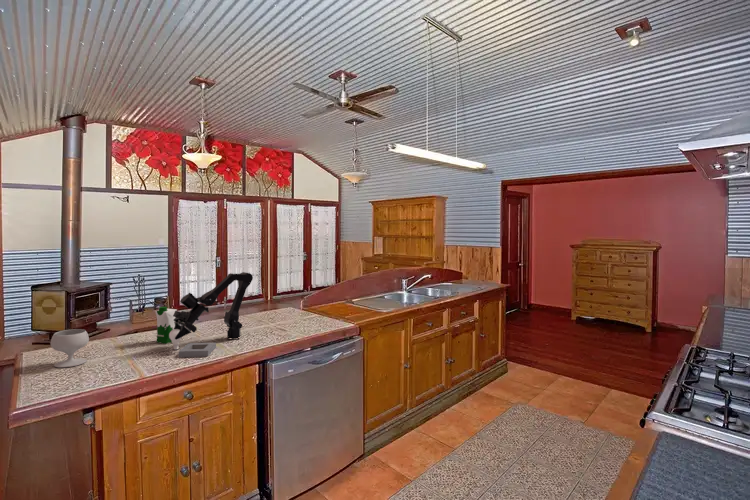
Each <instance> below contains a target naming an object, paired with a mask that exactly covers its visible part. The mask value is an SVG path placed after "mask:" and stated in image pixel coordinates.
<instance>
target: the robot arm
mask: <svg viewBox="0 0 750 500" xmlns="http://www.w3.org/2000/svg"><path fill="white" fill-rule="evenodd" d="M253 278H254V276H253V275H252V273H250V272H245V271H243V272H241V273H232V272H231V273H229V274H227V276H226V277H225V278H223V280H221V281H220V282H219V283H218V284H217V285H216V286H215V287H214V288H212V289H211V290H209V291H207V292H204V294H202V295H201V296H199V297H195V296H194V294H193V293H191V292H189V293H188V294H186V295H184V296H182V298H180V301H179V303H180V304H182V305H183V306H184V307H186V308H187V309H190V310H189V311H184V310H182V311H179V310H177V311H175V313H174V315H173V316H174V317H175V319H174V320H173V321H175V322H174V323H175V327H174V329H179V330H180V331H179V333H178V334H177V335H176V337H175V339H176V340H177V339H179V338H181V337H182V338H183V337H185V336H187V335H189V334H191V333H196V331H197V330H198V329H197V326H195V324H194V323H196V321H199V318H200V317H201V316H202V314H204V312H205V313H209V311H210V310H209V307H210V306H212V305H214V303H215V302H216V301H217V300H218V296H220V295H221V293H223V292H224V291H225V290H226V289H227V288H228V287H229V286H230V285H231V284H232V283H233V282H234V281H237V284H238V285H237V290H236V292H235V295H234V298H233V302H232V304H231V307H230V310H229V311H225V313H224V316H223V322H224V324H225V325H226V327H227V333H226V334H227V335H226V337H227V339H228V338H238V337H240V336H241V337H242V335H241V334H242V333H241V329H242V328H243V324H242V323H241V322H240V321H239V318H240V312H239V311H240V309H241V305H242V302H243V299H244V297H245V294H246V292H247V291H246V290H247V288H248V287H249V286H250V285H251V283H252V281H253ZM174 329H173V330H174ZM241 337H240V338H241ZM182 338H181V339H182Z"/></svg>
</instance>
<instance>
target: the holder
mask: <svg viewBox="0 0 750 500" xmlns="http://www.w3.org/2000/svg"><path fill="white" fill-rule="evenodd" d="M215 348H216V349H217V342H191V343H190V342H189V343H187V344H186V345H185V346H183V347H182V348H181V349H180V350H179V351H177V352H178V358H204V357H205V358H207V357H206V356H208V357H210V355H211V354H212V353H213V352H214V351H215V350H216V349H215ZM214 349H215V350H214ZM213 350H214V351H213ZM212 351H213V352H212ZM211 352H212V353H211Z"/></svg>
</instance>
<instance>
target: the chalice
mask: <svg viewBox="0 0 750 500" xmlns="http://www.w3.org/2000/svg"><path fill="white" fill-rule="evenodd" d="M89 341H90V337H89V334H88V332H87V331H86V329H84V328H83V329H82V328H74V329H64V330H60V331H57V332H54V333H53V335H52V337H51V339H50V347H51V348H52V349H53V350H55V351H57V352H60V353H64V354H66V355H67V359H65V360H61V361H58V362H56V363H55V364H54V365H53V367H55V368H70V367H76V366H80V365H83V364H85V363H87V362H88V359H87V358H83V357H82V358H81V357H79V358H74V354H75V353H76V352H77V351H79V350H81V349H82V348H84V347H85V346H86V345H88V343H89Z"/></svg>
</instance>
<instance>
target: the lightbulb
mask: <svg viewBox="0 0 750 500" xmlns="http://www.w3.org/2000/svg"><path fill="white" fill-rule="evenodd" d="M179 331H180V330H179V329H174V330H172V331H171V332H170V333H169V338H170V339H171V341H172V342H171V343H172V345H173V347H172V349H173V350H176V351H177V350H178V349H179V348H180V345H179V344H180V343H181V339H182V338H183V337H181V338H179V339H177V340H176V339H175V337H176V335H177V334H178V333H179Z"/></svg>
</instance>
